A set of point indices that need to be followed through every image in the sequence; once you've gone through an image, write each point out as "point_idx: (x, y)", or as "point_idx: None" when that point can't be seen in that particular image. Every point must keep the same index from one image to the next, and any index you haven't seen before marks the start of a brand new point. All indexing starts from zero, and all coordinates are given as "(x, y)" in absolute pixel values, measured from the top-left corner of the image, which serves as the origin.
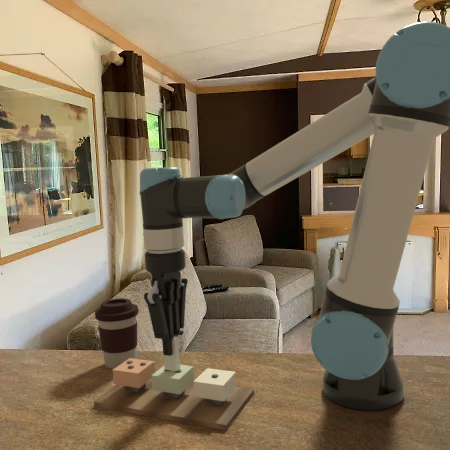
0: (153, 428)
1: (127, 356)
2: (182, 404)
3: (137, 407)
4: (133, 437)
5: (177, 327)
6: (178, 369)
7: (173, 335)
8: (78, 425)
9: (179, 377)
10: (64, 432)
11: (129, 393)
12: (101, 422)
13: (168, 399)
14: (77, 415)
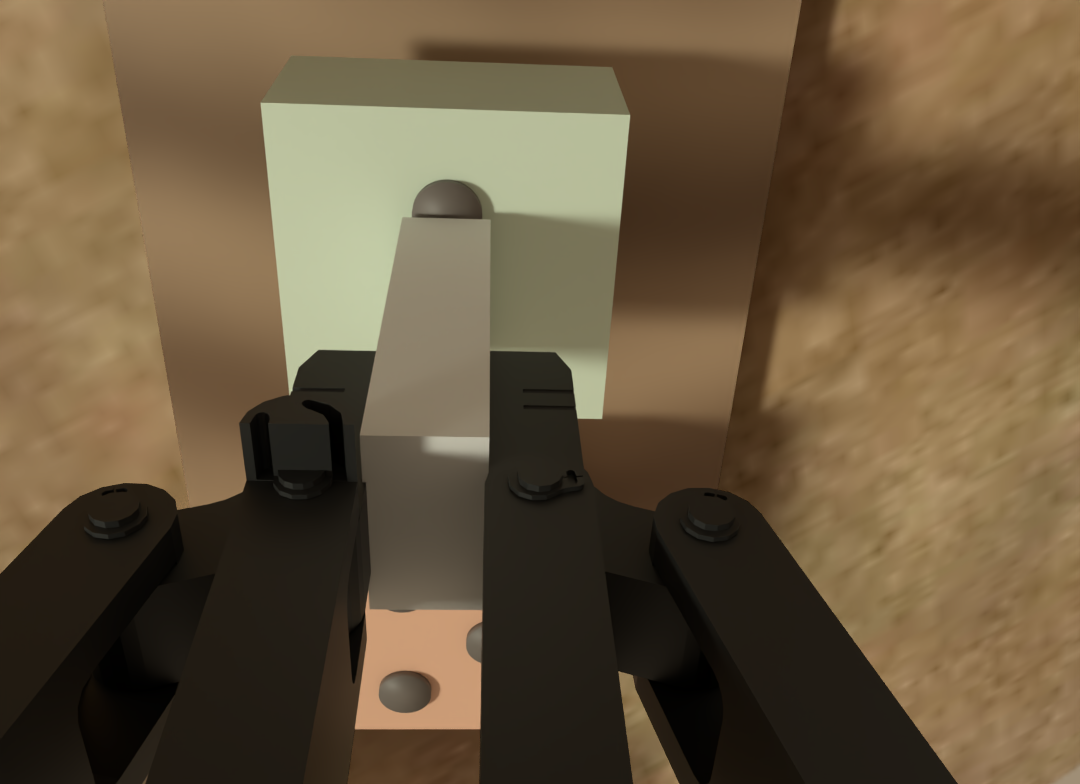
0: (909, 117)
1: None
2: (592, 29)
3: (715, 355)
4: (1036, 197)
5: (324, 537)
6: (447, 218)
7: (491, 481)
8: (910, 573)
9: (587, 131)
10: (989, 595)
11: None
12: (863, 480)
13: None
14: None
